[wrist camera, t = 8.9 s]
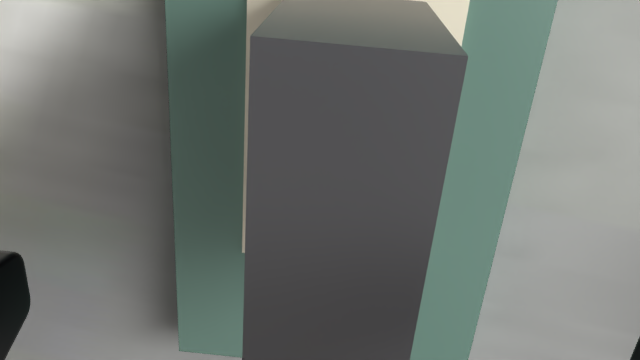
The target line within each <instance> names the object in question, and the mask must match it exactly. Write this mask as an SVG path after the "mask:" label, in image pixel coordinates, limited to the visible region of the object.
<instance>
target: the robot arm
mask: <svg viewBox="0 0 640 360" xmlns="http://www.w3.org/2000/svg"><path fill="white" fill-rule="evenodd" d="M29 308H30V293H29V288H28V282H27V277H26V271H25V266H24V261H23V258H22V257H21V255H20V254H18V253H16V252H10V251H0V360H5V358H6V356H7V354H8V352H9V350H10V348H11V346H12V344H13V342H14V340H15V338H16V336H17V335H18V333H19V331H20V329H21V327H22V325H23V323H24V321H25V319H26V317H27V315H28V312H29ZM630 360H640V337H639V339H638V342H637V344H636V347H635V349H634V351H633V354H632V356H631V359H630Z"/></svg>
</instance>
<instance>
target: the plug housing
mask: <svg viewBox="0 0 640 360" xmlns="http://www.w3.org/2000/svg"><path fill="white" fill-rule="evenodd" d="M467 61H468V55H467V54H466V52H465V51H464V50H463V48H462V47H461V46H460V45H459V43H458V42H457V41H456V39H455V38H454V37H453V36H452V34H451V33H450V32H449V30H448V29H447V28H446V26H445V25H444V24H443V23H442V21H441V20H440V19H439V17H438V16H437V15H436V14H435V12H434V11H433V10H432V8H431V7H430V6H429V5H428V3H427V2H422V1H411V0H282V1H281V2H280V3H279V4H278V6H277V7H276V8H275V9H274V10H273V11H272V12H271V13H270V14H269V16H268V17H267V18H266V19H265V20H264V21H263V22H262V23H261V24H260V26H259V27H258V28H257V29H256V30H255V31H254V32H253V33H252V34H251V36H250V65H249V105H248V146H247V186H246V227H245V268H244V308H243V349H242V360H410V356H411V351H412V346H413V340H414V335H415V330H416V325H417V320H418V315H419V309H420V304H421V299H422V294H423V289H424V283H425V278H426V273H427V268H428V263H429V258H430V252H431V247H432V242H433V237H434V232H435V227H436V221H437V216H438V211H439V206H440V201H441V195H442V190H443V185H444V180H445V175H446V170H447V164H448V159H449V154H450V149H451V144H452V139H453V133H454V128H455V123H456V118H457V113H458V108H459V102H460V97H461V92H462V87H463V82H464V76H465V71H466V66H467Z"/></svg>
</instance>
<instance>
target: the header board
mask: <svg viewBox="0 0 640 360" xmlns="http://www.w3.org/2000/svg"><path fill="white" fill-rule="evenodd" d="M281 1H282V0H165V18H166V43H167V67H168V91H169V116H170V140H171V165H172V189H173V214H174V238H175V263H176V287H177V312H178V336H179V351H184V352H194V353H203V354H213V355H222V356H232V357H241V358H242V349H243V308H244V268H245V227H246V186H247V146H248V105H249V65H250V36H251V34H252V33H253V32H254V31H255V30H256V29H257V28H258V27H259V26H260V24H261V23H262V22H263V21H264V20H265V19H266V18H267V17H268V16H269V14H270V13H271V12H272V11H273V10H274V9H275V8H276V7H277V6H278V4H279V3H280V2H281ZM411 1H422V2H427V3H428V5H429V6H430V7H431V8H432V10H433V11H434V12H435V14H436V15H437V16H438V17H439V19H440V20H441V21H442V23H443V24H444V25H445V26H446V28H447V29H448V30H449V32H450V33H451V34H452V36H453V37H454V38H455V39H456V41H457V42H458V43H459V45H460V46H461V47H462V48H463V50H464V51H465V52H466V54H467V55H468V61H467V66H466V71H465V76H464V82H463V87H462V92H461V97H460V102H459V108H458V113H457V118H456V123H455V128H454V133H453V139H452V144H451V149H450V154H449V159H448V164H447V170H446V175H445V180H444V185H443V190H442V195H441V201H440V206H439V211H438V216H437V221H436V227H435V232H434V237H433V242H432V247H431V252H430V258H429V263H428V268H427V273H426V278H425V283H424V289H423V294H422V299H421V304H420V309H419V315H418V320H417V325H416V330H415V335H414V340H413V346H412V351H411V356H410V360H468V358H469V354H470V350H471V346H472V342H473V338H474V334H475V330H476V326H477V322H478V318H479V314H480V310H481V306H482V302H483V298H484V294H485V290H486V286H487V282H488V278H489V274H490V270H491V266H492V262H493V258H494V254H495V250H496V246H497V242H498V238H499V234H500V230H501V226H502V222H503V218H504V214H505V210H506V206H507V202H508V198H509V193H510V189H511V185H512V181H513V177H514V173H515V169H516V165H517V161H518V157H519V153H520V149H521V145H522V141H523V137H524V133H525V129H526V125H527V121H528V117H529V113H530V109H531V105H532V101H533V97H534V93H535V89H536V85H537V81H538V77H539V73H540V69H541V65H542V61H543V57H544V53H545V49H546V45H547V41H548V37H549V33H550V29H551V25H552V21H553V17H554V13H555V9H556V5H557V1H558V0H411Z"/></svg>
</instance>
